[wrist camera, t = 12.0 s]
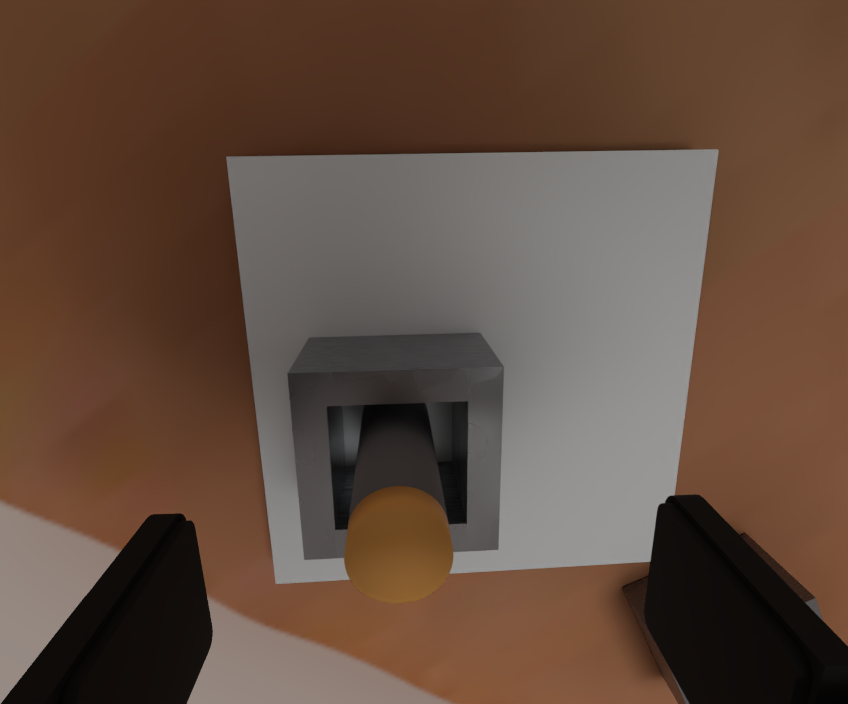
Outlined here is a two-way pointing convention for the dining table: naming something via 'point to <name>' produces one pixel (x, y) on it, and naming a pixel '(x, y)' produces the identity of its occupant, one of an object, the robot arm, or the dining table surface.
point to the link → (397, 384)
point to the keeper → (501, 328)
